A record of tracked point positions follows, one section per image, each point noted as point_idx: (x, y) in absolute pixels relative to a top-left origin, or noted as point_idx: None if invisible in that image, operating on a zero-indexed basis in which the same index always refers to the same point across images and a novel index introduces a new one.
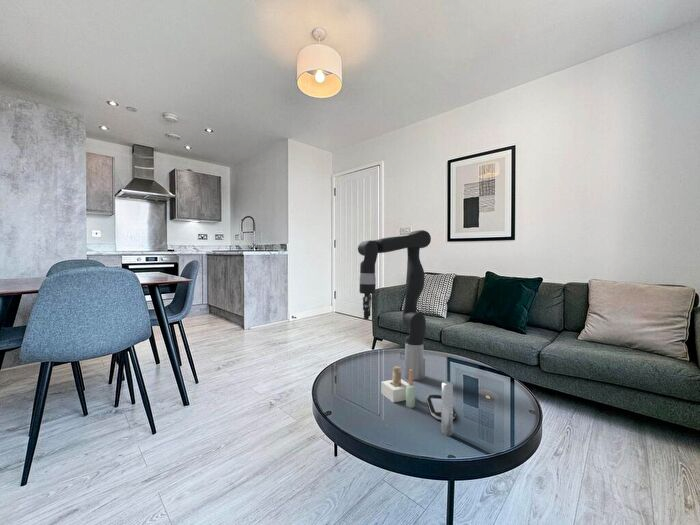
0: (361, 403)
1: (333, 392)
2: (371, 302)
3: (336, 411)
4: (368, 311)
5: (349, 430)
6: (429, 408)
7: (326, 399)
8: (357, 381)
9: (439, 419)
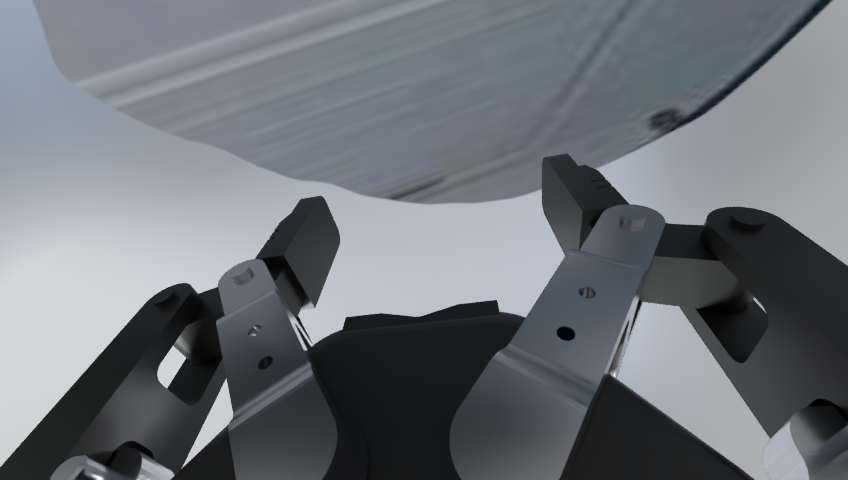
0: (589, 31)
1: (515, 160)
2: (249, 333)
3: (655, 99)
4: (610, 209)
5: (797, 4)
6: None
7: None
8: (396, 115)
9: None
